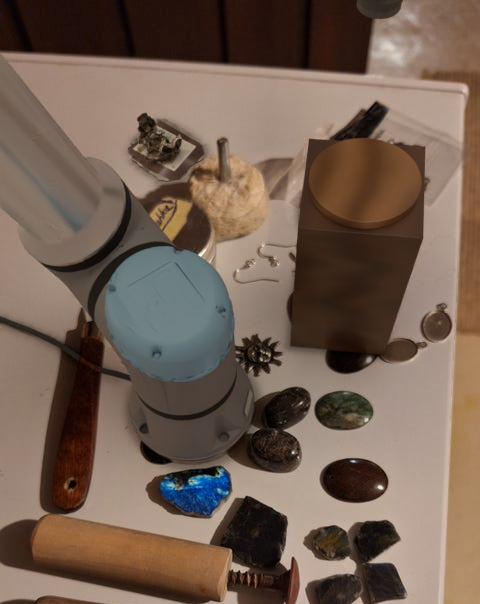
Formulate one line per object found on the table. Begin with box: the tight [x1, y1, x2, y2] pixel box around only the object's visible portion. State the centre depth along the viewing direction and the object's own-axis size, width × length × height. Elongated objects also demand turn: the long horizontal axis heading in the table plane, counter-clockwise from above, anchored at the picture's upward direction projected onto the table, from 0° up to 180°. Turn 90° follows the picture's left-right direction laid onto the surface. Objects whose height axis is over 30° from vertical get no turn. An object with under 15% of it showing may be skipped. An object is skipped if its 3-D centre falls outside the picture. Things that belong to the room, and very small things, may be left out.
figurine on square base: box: [127, 112, 205, 182], centre depth 95 cm, size 12×6×11 cm
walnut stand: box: [289, 138, 426, 356], centre depth 73 cm, size 12×12×22 cm
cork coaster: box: [308, 137, 422, 229], centre depth 63 cm, size 11×11×1 cm
